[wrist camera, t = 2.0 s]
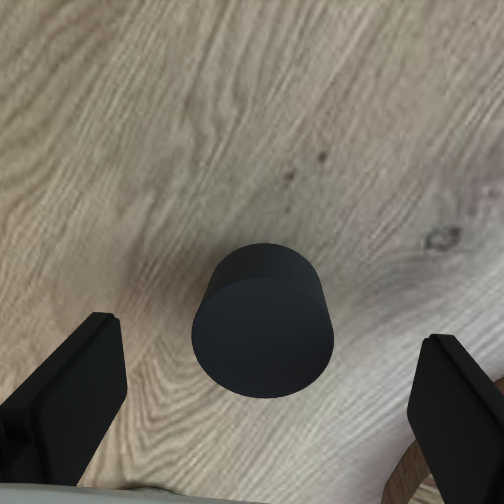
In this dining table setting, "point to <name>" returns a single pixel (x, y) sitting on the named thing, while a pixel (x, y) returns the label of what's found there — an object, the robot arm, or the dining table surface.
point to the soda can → (152, 490)
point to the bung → (263, 323)
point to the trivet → (415, 477)
